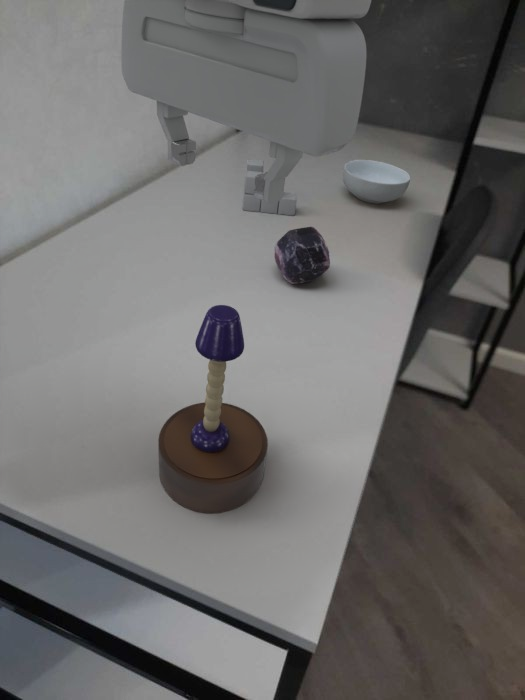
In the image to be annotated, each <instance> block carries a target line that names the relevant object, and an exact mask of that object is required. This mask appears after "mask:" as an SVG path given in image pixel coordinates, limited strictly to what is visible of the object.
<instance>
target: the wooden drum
mask: <svg viewBox="0 0 525 700" xmlns="http://www.w3.org/2000/svg"><path fill="white" fill-rule="evenodd" d="M205 406H206V404H205V401H204V402H198V403H194V404H191V405H188V406H185V407H183V408H181V409H179V410H178V411H176V412H175V413H173V414H172V415H171V416H170V417H169V418H167V420H166V421H165V422H164V424H163V425H162V427H161V429H160V430H159V431H160V432H159V434H158V441H157V442H158V443H157V444H158V447H157V448H158V474H159V475H158V476H159V480H160V484H161V486H162V488H163V490H164V491H165V493H166V494H167V495H168V496H169V497H170V499H172V500H173V501H174V502H175V503H177V504H178V505H180V506H181V507H183V508H186V509H189V511H190V510H191V511H194V512H198V513H202V514H203V513H204V514H219V513H220V514H221V513H225V512H230V511H232V510H236V509H238V508H239V507H241V506H243V505H245V504H247V503H248V502H249V501H250V500H251V499H252V498H253V497H254V496H255V495H256V494H257V492H258V491H259V489H260V487H261V485H262V482H263V478H264V472H265V468H266V467H265V466H266V460H267V454H268V453H267V452H268V446H269V443H268V436H267V433H266V431H265V429H264V427H263V425H262V423H261V422H260V421H259V420H258V419H257V418H256V417H255V416H254V415H253V414H252V413H250V412H249V411H247V410H246V409H244V408H241V407H239V406H237V405H234V404H232V403H227V402H222V405H221V407H220V408H221V414H220V417H219V419H220V422H222V423H223V424H224V425H225V426H226V428H227V430H228V432H229V442H228V444H227V445H226V447H225V448H223V449H221V450H219V451H216V452H205V451H202V450H200V449H198V448H196V447H195V446H194V445H193V444H192V441H191V432H192V430H193V428H194V426H195V425H196V424H197V423H199V422H200V421H202V420H203V419H204V416H205V415H204V409H205Z"/></svg>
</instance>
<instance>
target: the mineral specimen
mask: <svg viewBox="0 0 525 700" xmlns="http://www.w3.org/2000/svg"><path fill="white" fill-rule="evenodd" d="M273 255H274V256H273V257H274V261H275V264H276V266H277V268H278V270H279V272H280V274H281V276H282V278H283V279H285V280H286V281H287V282H288V283H290V284H291V285H295V284H302V283H307V282H312V281H315V280H317V279H318V278H320V277H321V276H322V275H323V274H325V273H326V272H327V271H328V270H329V269H330V266H331V259H330V249H329V247H328V245H327V243H326V240H325V239H324V236H323V235H322V234H321V232H320V231H319V230H317V229H316V228H315V227H314V226H306V227H305V226H304V227H299V228H293V229H290V230H287V232H286V233H285V234H284V235H282V236H281V237H280V238H279V239H278V240H277V241H276V243H275V245H274V254H273Z"/></svg>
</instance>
